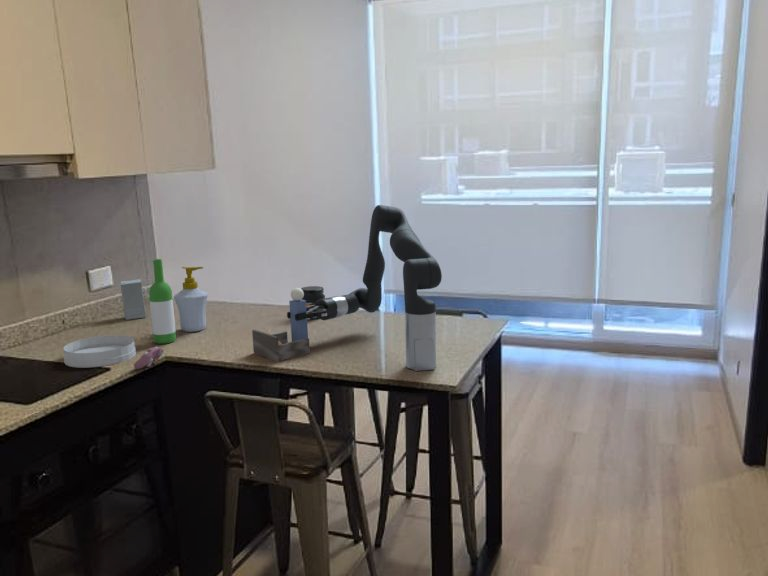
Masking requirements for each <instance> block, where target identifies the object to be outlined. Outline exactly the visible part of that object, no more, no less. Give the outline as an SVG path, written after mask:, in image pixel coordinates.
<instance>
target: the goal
mask: <svg viewBox="0 0 768 576" xmlns="http://www.w3.org/2000/svg"><path fill="white" fill-rule="evenodd" d="M251 333H252V335H251V336H252V345H253V346H252V348H253V349H252V350H253V354H255V355H257V356H260V357H262V356H263V358H265V357H266V359H268V360H270V361H273V362H276V363H279V362H282V361H285V359H286V360H289V358H290V359H293V357H294V358H297V357H300V355H301V356H304V354H305V355H308V354H307V353H309V354H311V350H310V349H311V348H310V345H311V344H310V338H309V337H308V338H306V339H302V340H298V341H294V342H292V341H290V342H288V341H289V340H288V331H280V332H278V333H277V332H276V333H272V334H271V333H266V332H264V331H260V330H258V329H252V330H251ZM278 341H280V342H281V343H282V344H281V345H278ZM281 360H282V361H281Z"/></svg>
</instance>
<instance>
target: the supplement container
mask: <svg viewBox="0 0 768 576" xmlns="http://www.w3.org/2000/svg"><path fill="white" fill-rule="evenodd" d="M300 289H302V290H303V292H304V296H303V298H302V300H306V307H307V306H310V305H316V303H317V301H318V300H320V299H325V298H326V295H325V294H324V287H323V286H319V285H318V286H317V285H315V286H312V285H310V286H304V287H300Z"/></svg>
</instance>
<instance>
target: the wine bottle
mask: <svg viewBox="0 0 768 576" xmlns="http://www.w3.org/2000/svg"><path fill="white" fill-rule="evenodd" d="M152 260H153V261H152V262H153V273H154V283H152V285H151V286H150V287H149V291H148V295H149V305H150V306H149V308H150V316H151V328H152V330H151V331H152V337H153V342H154V343H155V344H159V345H165V344H170V343H173V342H175V341H176V339H177V335H176V333H177V332H176V322H175V321H176V320H175V312H174V300H173V299H174V298H173V292H172V288H171V286H170V285H169V284H168V283H167V282H166V281H165V279H164V269H163V267H164V266H163V260H162V259H161V258H158V259H157V258H156V259H152Z"/></svg>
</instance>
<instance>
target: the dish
mask: <svg viewBox="0 0 768 576" xmlns="http://www.w3.org/2000/svg"><path fill="white" fill-rule="evenodd" d="M62 348H63V361H64V364H65V365H66V366H68V367H70V368H71V367H72V368H80V369H81V368H84V369H85V368H86V369H87V368H99V367H107V366H112V365H116V364H118V363H119V364H120V363H122V362H125V361H128V360H130V359H132V358H134V357H135V356H136V355H137V352H136V345H135V338H133V337H132V336H128V335H123V334H122V335H119V334H118V335H117V334H112V335H111V334H110V335H100V336H99V335H98V336H93V337H92V336H91V337H86V338H82V339H77V340H75V341H72V342H70V343H67V344H66V345H65V346H63V347H62Z"/></svg>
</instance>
